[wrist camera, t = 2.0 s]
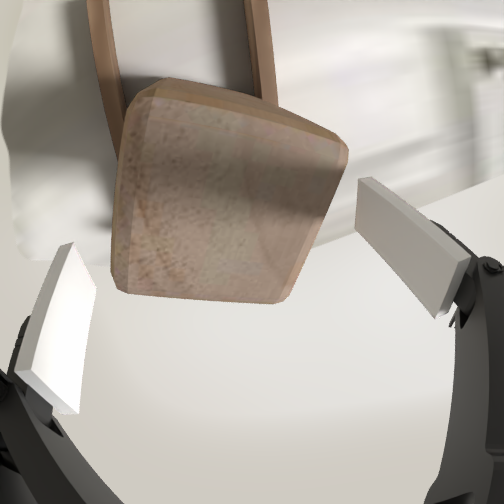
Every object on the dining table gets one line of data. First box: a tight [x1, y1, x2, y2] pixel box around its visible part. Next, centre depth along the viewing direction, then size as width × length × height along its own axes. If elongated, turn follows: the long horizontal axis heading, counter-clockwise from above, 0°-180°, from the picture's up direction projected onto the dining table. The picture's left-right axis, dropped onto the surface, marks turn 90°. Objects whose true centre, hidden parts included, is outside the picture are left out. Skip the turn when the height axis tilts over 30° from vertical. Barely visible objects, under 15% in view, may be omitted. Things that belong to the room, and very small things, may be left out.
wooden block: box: [111, 77, 349, 304], centre depth 21 cm, size 10×10×20 cm
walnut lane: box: [86, 0, 278, 160], centre depth 25 cm, size 16×28×5 cm, turn 7°
